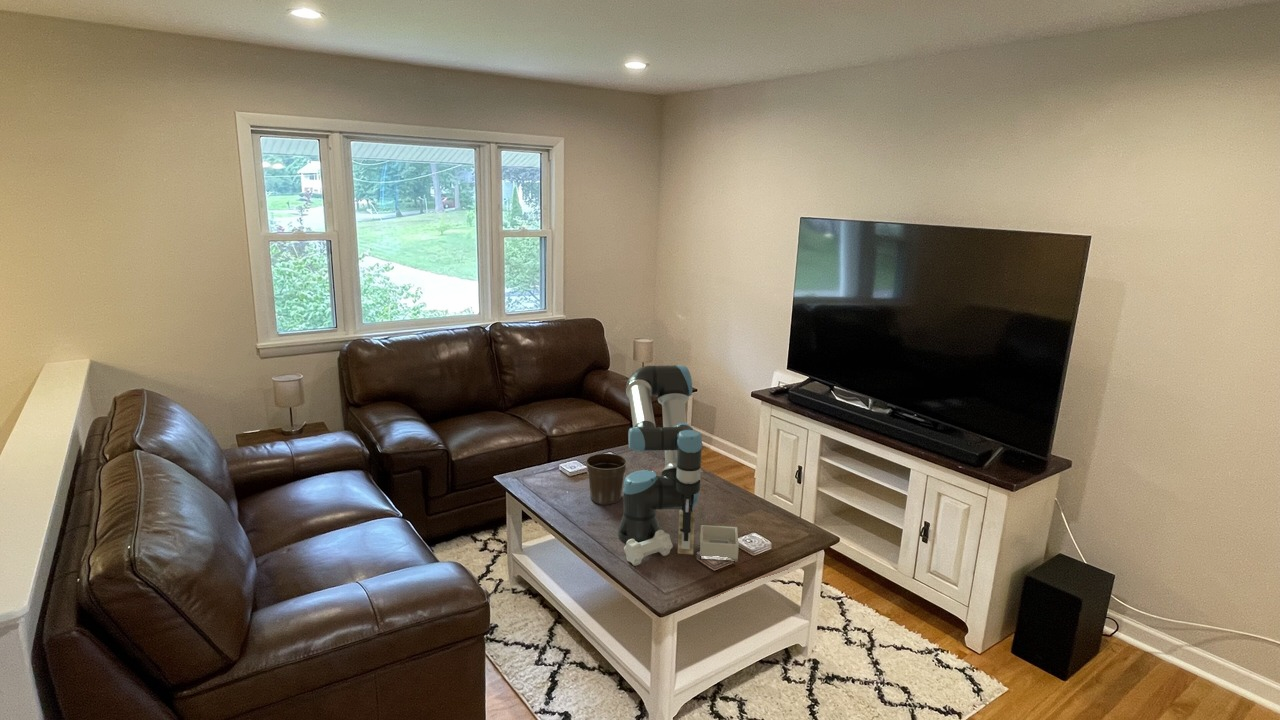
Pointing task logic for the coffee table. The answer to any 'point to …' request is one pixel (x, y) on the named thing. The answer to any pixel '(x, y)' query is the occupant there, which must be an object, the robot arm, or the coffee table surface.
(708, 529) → the open rectangular box
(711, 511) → the coffee table surface
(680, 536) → the wooden wick block
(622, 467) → the plant pot
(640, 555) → the dog bone
